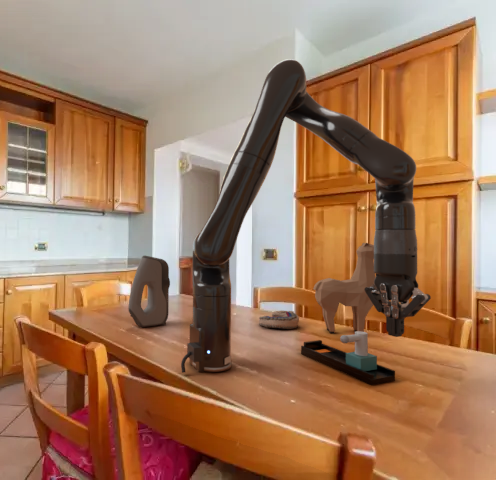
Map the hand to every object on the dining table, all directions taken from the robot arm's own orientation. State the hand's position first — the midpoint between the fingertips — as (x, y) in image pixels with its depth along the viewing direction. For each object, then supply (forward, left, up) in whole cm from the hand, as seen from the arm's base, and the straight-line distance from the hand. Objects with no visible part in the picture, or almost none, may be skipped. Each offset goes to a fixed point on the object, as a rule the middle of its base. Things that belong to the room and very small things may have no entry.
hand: (395, 335), depth 69 cm
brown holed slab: (-33, +66, -11) cm, 75 cm away
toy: (+26, +36, -11) cm, 46 cm away
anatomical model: (+11, +51, -11) cm, 53 cm away
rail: (0, +13, -11) cm, 17 cm away
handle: (-2, +8, -9) cm, 12 cm away
